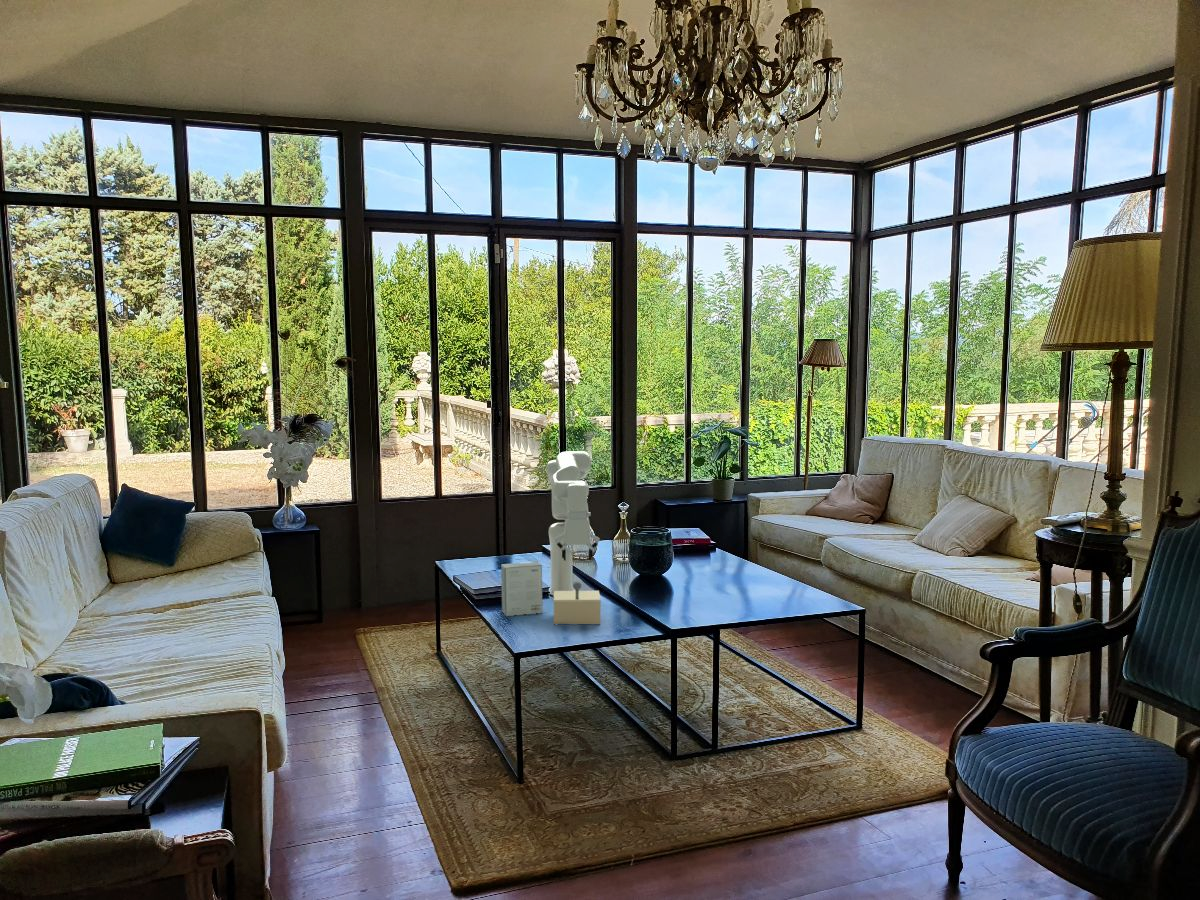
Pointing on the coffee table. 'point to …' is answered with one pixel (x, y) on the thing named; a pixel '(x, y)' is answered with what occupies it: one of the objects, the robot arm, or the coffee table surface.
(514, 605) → the hard drive box
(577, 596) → the carton flap
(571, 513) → the robot arm
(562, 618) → the carton
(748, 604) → the coffee table surface
